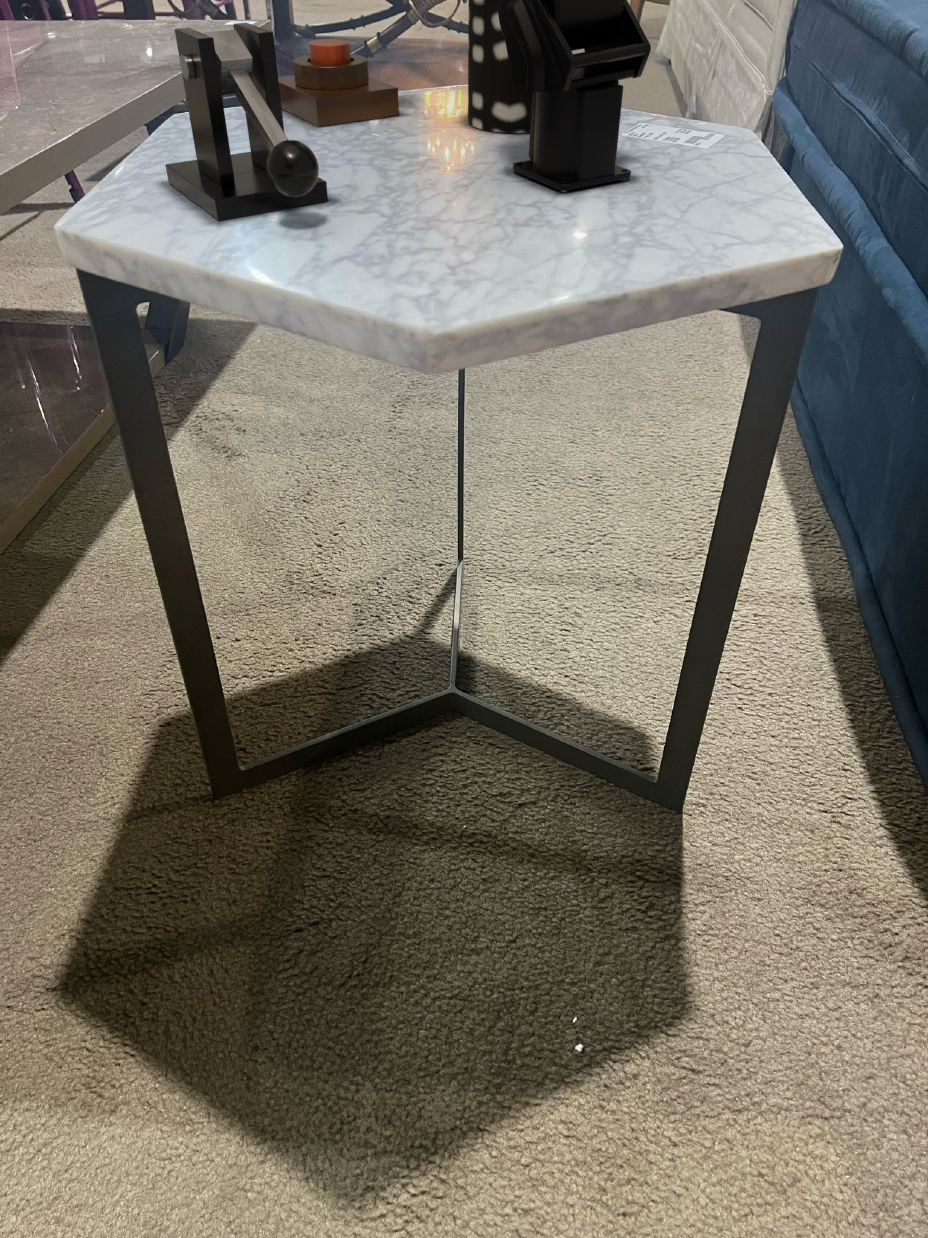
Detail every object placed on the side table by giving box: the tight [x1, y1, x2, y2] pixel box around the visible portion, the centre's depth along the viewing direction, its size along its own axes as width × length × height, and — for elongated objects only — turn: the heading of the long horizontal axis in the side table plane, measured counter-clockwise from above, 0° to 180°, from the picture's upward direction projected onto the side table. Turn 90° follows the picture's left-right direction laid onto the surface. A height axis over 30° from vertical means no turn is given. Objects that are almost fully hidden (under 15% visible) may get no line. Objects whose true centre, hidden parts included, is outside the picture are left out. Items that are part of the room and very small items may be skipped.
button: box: [308, 38, 351, 64], centre depth 82 cm, size 4×4×2 cm
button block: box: [278, 53, 400, 127], centre depth 84 cm, size 10×8×4 cm
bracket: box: [165, 22, 329, 222], centre depth 62 cm, size 10×8×10 cm
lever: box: [203, 29, 320, 197], centre depth 59 cm, size 13×3×3 cm, turn 32°
